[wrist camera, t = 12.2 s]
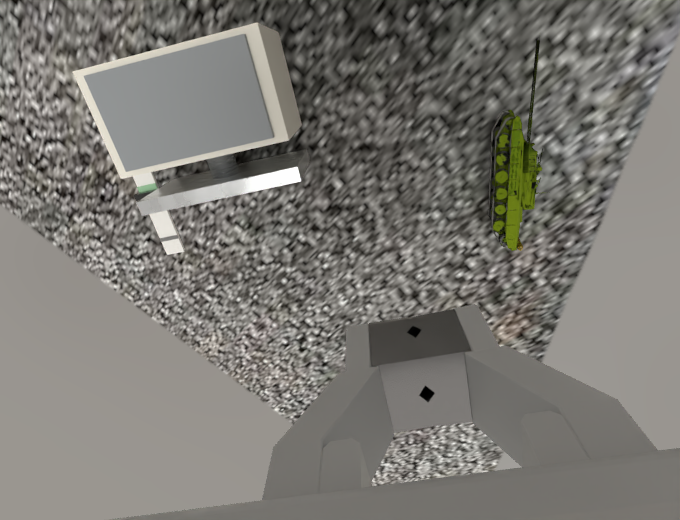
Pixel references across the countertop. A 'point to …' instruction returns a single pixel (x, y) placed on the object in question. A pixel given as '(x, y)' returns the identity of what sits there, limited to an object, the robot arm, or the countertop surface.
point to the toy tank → (512, 174)
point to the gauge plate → (225, 181)
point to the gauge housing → (191, 106)
